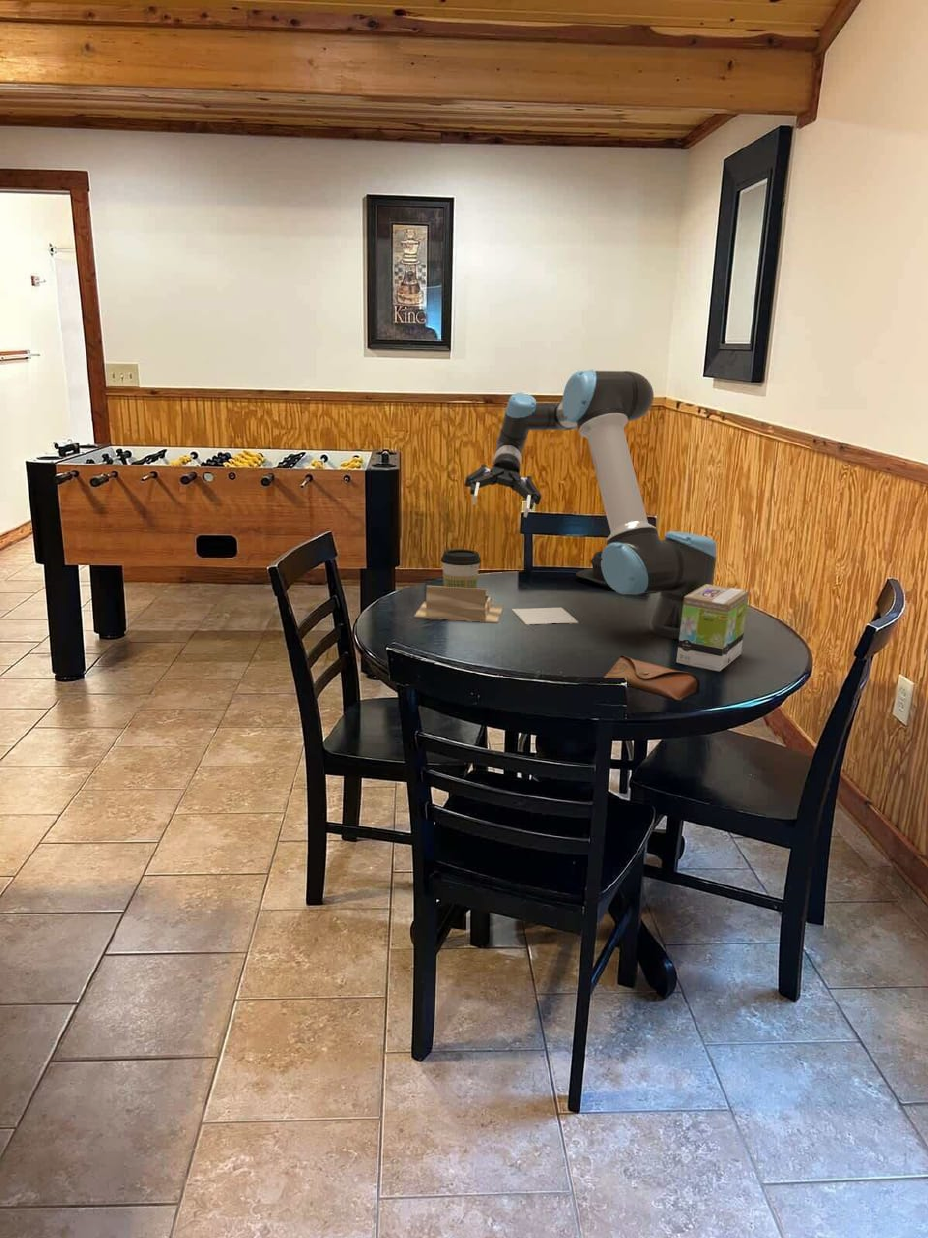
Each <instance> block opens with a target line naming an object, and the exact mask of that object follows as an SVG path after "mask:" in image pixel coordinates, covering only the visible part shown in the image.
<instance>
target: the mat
mask: <svg viewBox="0 0 928 1238" xmlns="http://www.w3.org/2000/svg"><path fill="white" fill-rule="evenodd" d="M511 611H512V612H513V613H514V614H515V615H516V616H517V617H518V618H519V619H520V621H521V622H522V623H523V624H526V625H525V626H531V625H530V624H533V625H534V624H541V625H551V624H550V623H569V624H579V621H578V620H577V619H576V618H574V617H573V616H572V615H571V614H570V613H569V612H567V611H566V609H564V608H563V607H543V608H542V607H539V608H511ZM548 623H549V624H548ZM533 625H532V626H533Z"/></svg>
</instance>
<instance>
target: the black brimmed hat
mask: <svg viewBox="0 0 928 1238" xmlns="http://www.w3.org/2000/svg"><path fill="white" fill-rule="evenodd" d="M602 552H603V550H601V551H597V552H595V553H594V554H593V555H592V556H593V557H592V558H591V559H590V561H589V562H590V564H591V565H592V568H586V569H581V570H579V571H578V572H576V573H575V575H576V577H578V578H581V579H585V580H588V581H591V582H594V583H597V584H598V585H601V586H604V587H607V588H611V587H610V586H609V585H608V583H607V582H606V580H605V578H604V575H603V572H602V568H601V561H602V560H603V559H602V557H601V556H602Z"/></svg>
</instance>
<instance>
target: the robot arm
mask: <svg viewBox="0 0 928 1238" xmlns="http://www.w3.org/2000/svg"><path fill="white" fill-rule="evenodd" d="M562 393H563V394H562V401H557V402H556V401H553V402H537V400H536V399H535V397H534V396H532V395H530V394H528V393H523V392H515V393H513V394H512V395H510V397H509V399H508V402H507V405H506V407H505V412H504V416H503V422H502V425H501V427H500V430H499V434H498V436H497V440H496V441H495V442H496V444H495V445H496V447H495V453H494V458H493V463H492V468H488V467H487V465H486V464H484V463H483V464H481V465H480V467H479V468H478V469H476V470H475V471H474V472H472V473H470V474H468V475H467V476H466V477H465V479H464V487H466V488H468V487H470V488H469V489H470V490H469V494H470V495H472V501H471V502H472V503H471V505H473V506H474V505H476V501H477V497H478V493H479V489H481V488H483V487H487V486H489V485H491V486H494V485H496V484H497V485H499V486H504V487H507V488H510V489H511V490H512V491H514V492H517V494H519V496H520V497H522V498H523V499H524V500H525V504H524V510H523V517H524V518H527V517H528V514H529V511H530V510H532V509H534V504H536V505H540V502H541V500H542V497H543V495H542V494H541V492H540V491H539V489H538V488H537V487H536V485H535V483H534V482H533V481H532V476H530V475H526V477H522V476H521V474H520V473H521V466H522V458H523V452H524V448H525V445H526V441H527V438H528V434H529V432H530V431H570V430H575V429H577V430H578V434H579V435H580V436H582V437H583V438H586V439H587V443H588V446H589V451H590V456H591V458H592V462H593V463H592V464H593V466H594V470H595V471H594V472H595V474H596V478H597V483H598V487H599V491H600V495H601V498H602V504H603V507H604V511H605V514H606V518H607V522H608V523H607V524H608V527H609V531H610V534H609V535H608V537H607V539H605V540H606V541H605V542H606V546H605V547H604V549H603V550H602V551H603V552H602V556H601V557H602V559H603V560H602V561H601V568H602V572H603V575H604V578H605V580H606V582H607V583H608V585H609V586H610V587H609V588H611V589H612V590H614V591H615V592H617V594H621V595H634V596H635V595H641V594H646V593H656V592H660V593H659V594H660V595H659V599H658V601H657V604H656V606H655V608H654V610H653V613H652V615H651V617H650V622H649V630H650V631H651V632H652V633H653V634H655V635H658V636H661V637H663V638H669V639H673V640H679V636H680V627H681V620H682V611H683V603H684V597H685V596H686V595H688V594H690V593H692V592H693V591H695V590H697V589H698V588H700V587H702V586H704V585H705V584H709V585H714V577H715V568H716V561H717V543H716V541H715V540H714V538H711V537H708V536H704V535H701V534H697V533H696V534H695V533H691V532H684V531H676V530H670V531H667V532H665V535H664V539H660V536H659V532H658V529H657V527H656V526H654V525H652V524H650V523H649V521H648V517H647V514H646V510H645V506H644V501H643V498H642V495H641V490H640V486H639V482H638V478H637V475H636V471H635V468H634V464H633V460H632V455H631V452H630V449H629V444H628V441H627V437H626V433H625V429H624V428H625V426H626V425H627V424H628V422H632V421H635V420H636V421H637V420H639V419H641V418H643V417H644V416H646V415H647V414H648V412H650V410H651V408H652V407H653V403H654V389H653V386H652V384H651V383H650V382H649V380H648V379H647V378H646V377H645V376H644V375H642V374H640V373H638V372H635V371H628V370H625V371H624V370H623V371H621V370H594V369H590V370H578V371H576V372H574V373H573V374H571V376H570V377H569V379H568V380H567V382H566V384H565V386H564V390H563V392H562Z"/></svg>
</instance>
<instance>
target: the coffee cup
mask: <svg viewBox="0 0 928 1238" xmlns="http://www.w3.org/2000/svg"><path fill="white" fill-rule="evenodd" d="M440 561H441V563H442V578H443V587H459V588H475V589H477V584H478V579H479V578H478V577H479V567H480V564H481V562H482V558H481V557H480V554H479V552H478V551H475V550H470V549H462V548H461V549H459V548H457V549H448V550H445V551H443V554H442V556H441V557H440Z"/></svg>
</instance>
